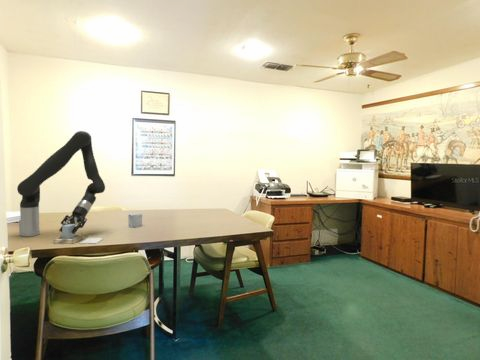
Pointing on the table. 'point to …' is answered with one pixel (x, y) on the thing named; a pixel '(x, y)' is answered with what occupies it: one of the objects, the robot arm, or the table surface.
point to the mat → (92, 240)
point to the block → (67, 231)
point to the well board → (68, 241)
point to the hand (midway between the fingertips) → (66, 232)
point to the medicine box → (135, 220)
